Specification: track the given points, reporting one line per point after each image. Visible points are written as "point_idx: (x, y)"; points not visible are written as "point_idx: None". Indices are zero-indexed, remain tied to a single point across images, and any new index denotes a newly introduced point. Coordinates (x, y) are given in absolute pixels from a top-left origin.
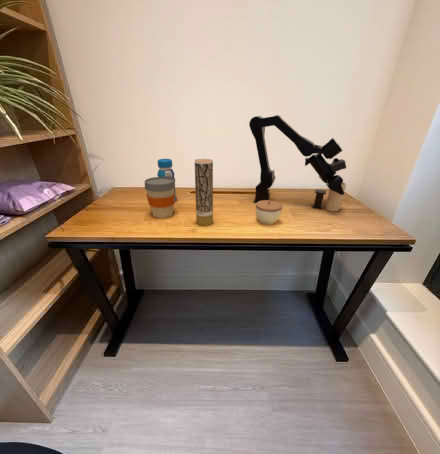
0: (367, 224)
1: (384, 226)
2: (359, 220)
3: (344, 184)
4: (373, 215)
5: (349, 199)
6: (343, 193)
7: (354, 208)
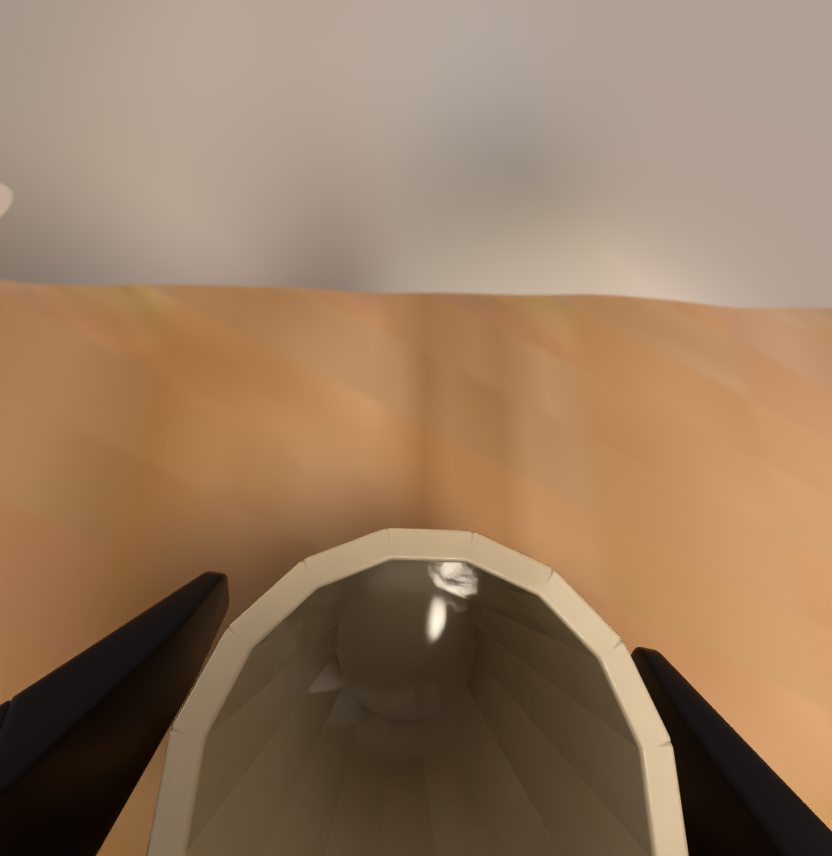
0: (776, 469)
1: (781, 358)
2: (697, 493)
3: (434, 561)
4: (560, 316)
5: (149, 307)
6: (669, 678)
7: (397, 385)
